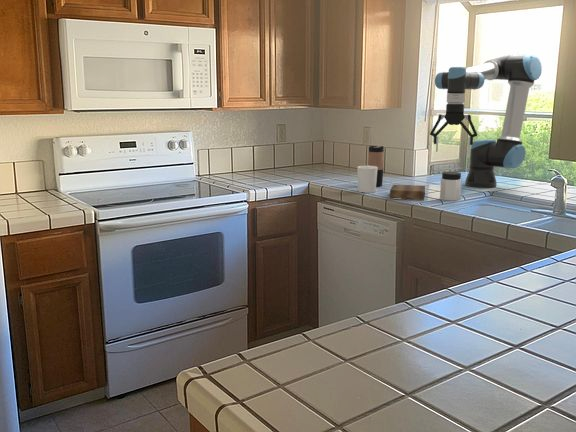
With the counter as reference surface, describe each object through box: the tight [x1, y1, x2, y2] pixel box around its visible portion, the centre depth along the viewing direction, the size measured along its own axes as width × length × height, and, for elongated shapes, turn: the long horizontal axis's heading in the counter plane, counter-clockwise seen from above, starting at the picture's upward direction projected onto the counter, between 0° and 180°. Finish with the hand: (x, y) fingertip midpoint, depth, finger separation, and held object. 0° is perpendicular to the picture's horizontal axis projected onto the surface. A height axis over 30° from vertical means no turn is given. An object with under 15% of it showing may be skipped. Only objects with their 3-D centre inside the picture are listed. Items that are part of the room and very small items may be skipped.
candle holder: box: [356, 165, 378, 194], centre depth 287 cm, size 10×10×12 cm
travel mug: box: [367, 145, 385, 188], centre depth 301 cm, size 8×8×20 cm
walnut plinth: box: [389, 184, 426, 201], centre depth 275 cm, size 15×15×4 cm
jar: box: [439, 171, 462, 202], centre depth 267 cm, size 9×8×12 cm
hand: (452, 152), depth 264 cm, fingers open, 13 cm apart
